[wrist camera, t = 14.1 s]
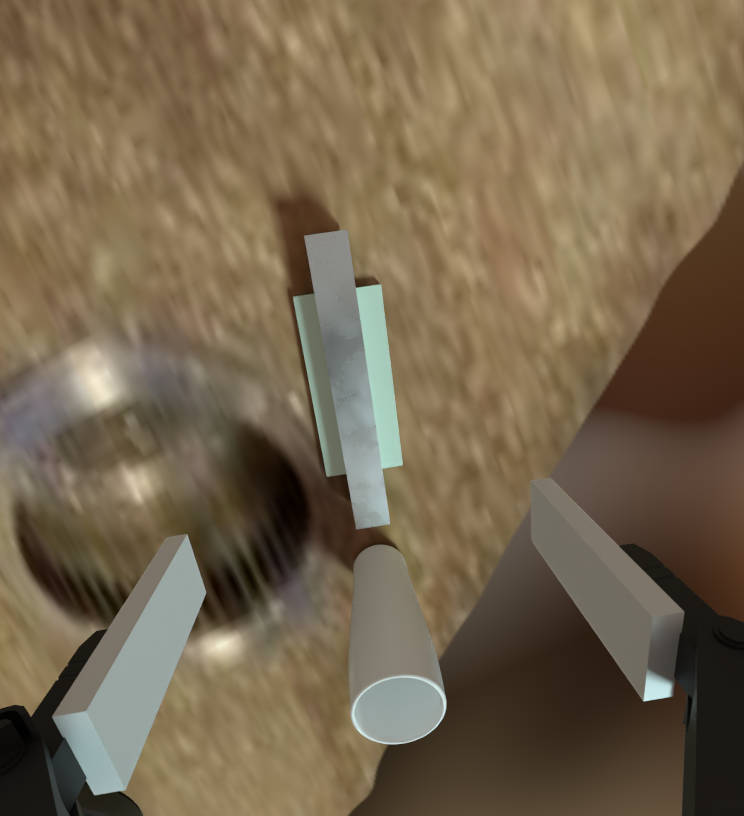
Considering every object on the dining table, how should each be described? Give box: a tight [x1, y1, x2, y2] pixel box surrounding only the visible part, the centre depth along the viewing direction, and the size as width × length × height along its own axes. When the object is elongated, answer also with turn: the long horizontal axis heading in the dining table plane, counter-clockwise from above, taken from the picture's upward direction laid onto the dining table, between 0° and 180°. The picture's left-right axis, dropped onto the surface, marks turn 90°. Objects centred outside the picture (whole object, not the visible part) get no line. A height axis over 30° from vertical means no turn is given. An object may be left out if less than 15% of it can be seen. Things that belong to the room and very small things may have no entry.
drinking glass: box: [348, 545, 446, 744], centre depth 36 cm, size 7×7×15 cm
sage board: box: [293, 284, 403, 477], centre depth 36 cm, size 16×7×1 cm, turn 7°
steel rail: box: [304, 230, 390, 530], centre depth 34 cm, size 24×3×3 cm, turn 8°
